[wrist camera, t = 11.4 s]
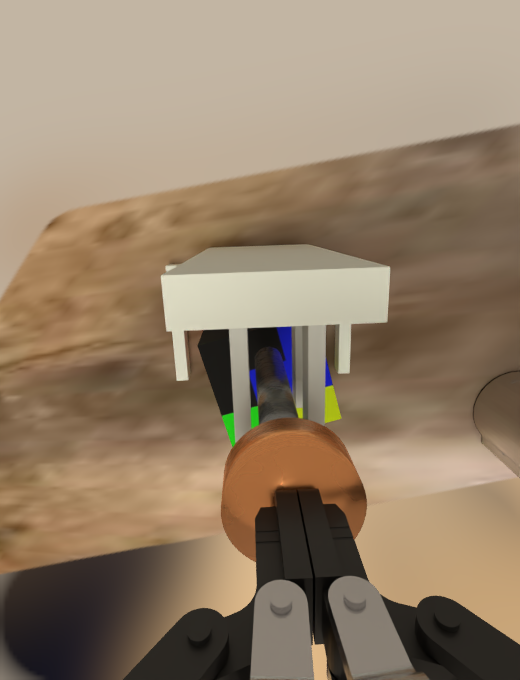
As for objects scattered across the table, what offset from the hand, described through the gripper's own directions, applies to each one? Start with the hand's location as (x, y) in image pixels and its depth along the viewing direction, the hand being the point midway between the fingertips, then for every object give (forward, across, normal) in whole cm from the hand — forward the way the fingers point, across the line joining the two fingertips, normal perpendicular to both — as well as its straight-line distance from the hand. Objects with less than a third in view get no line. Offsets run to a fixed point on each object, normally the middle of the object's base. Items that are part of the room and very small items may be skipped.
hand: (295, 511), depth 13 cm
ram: (+16, 0, 0) cm, 16 cm away
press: (+30, 0, 0) cm, 30 cm away
